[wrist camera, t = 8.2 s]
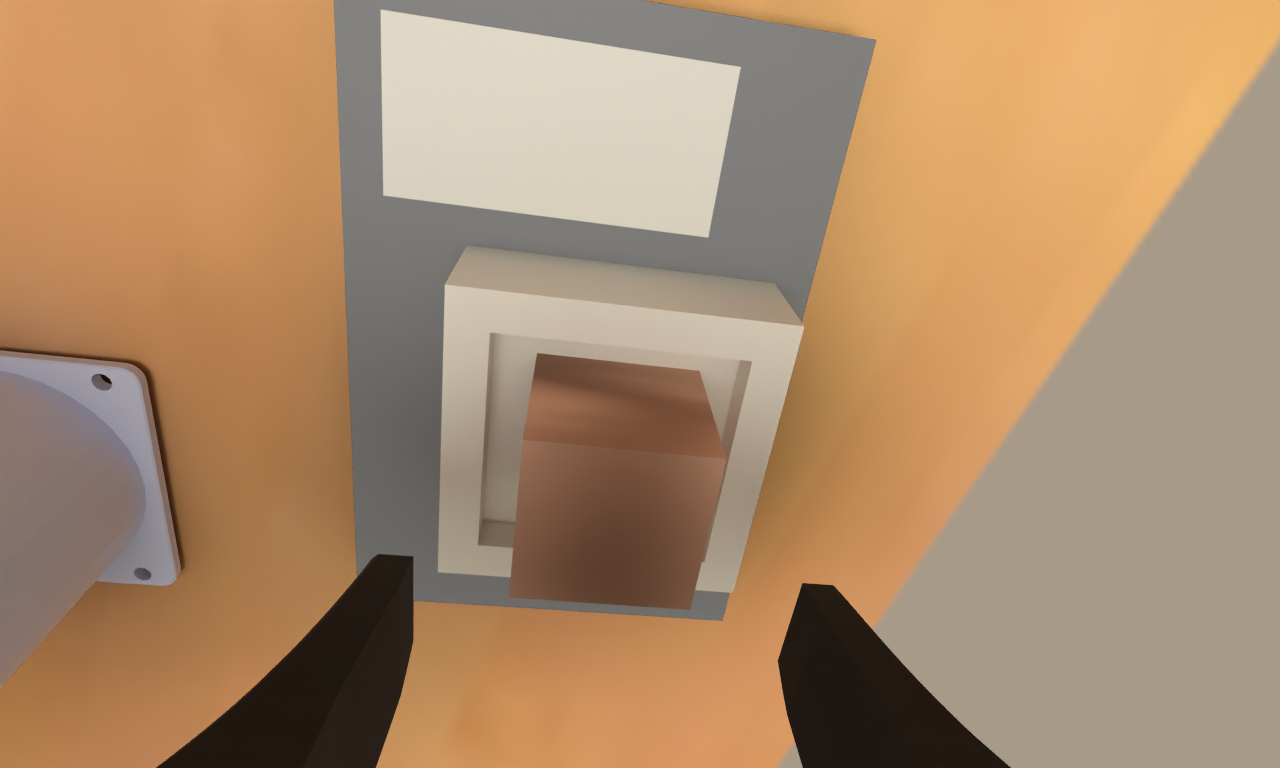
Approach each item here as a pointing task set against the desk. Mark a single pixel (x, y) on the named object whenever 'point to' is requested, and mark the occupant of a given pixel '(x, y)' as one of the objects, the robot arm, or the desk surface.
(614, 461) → the terracotta cube
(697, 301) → the socket base
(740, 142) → the grey mounting plate
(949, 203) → the desk surface
